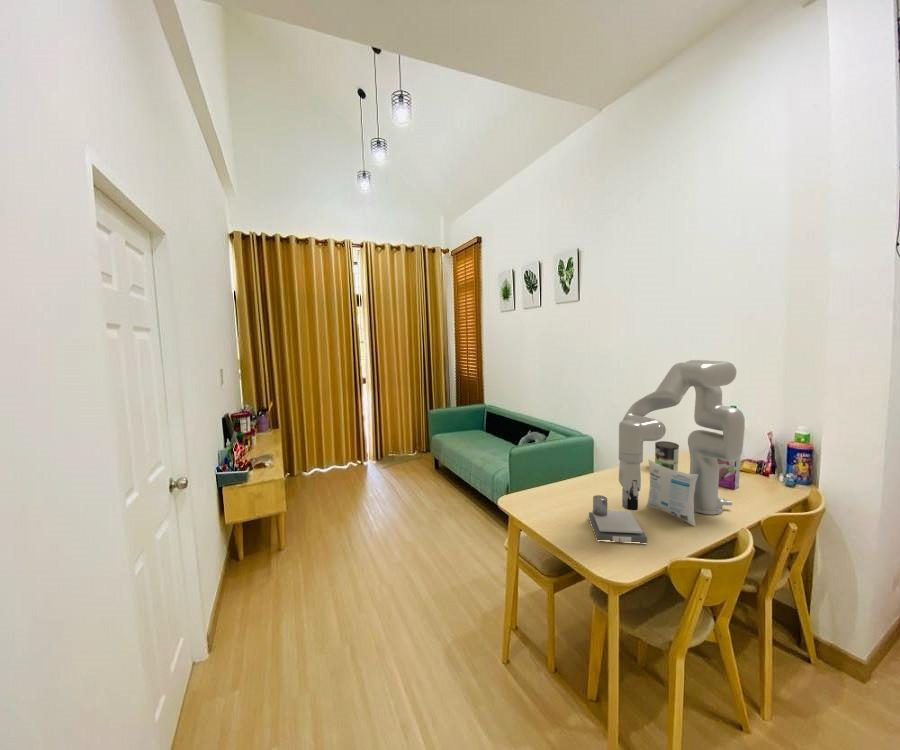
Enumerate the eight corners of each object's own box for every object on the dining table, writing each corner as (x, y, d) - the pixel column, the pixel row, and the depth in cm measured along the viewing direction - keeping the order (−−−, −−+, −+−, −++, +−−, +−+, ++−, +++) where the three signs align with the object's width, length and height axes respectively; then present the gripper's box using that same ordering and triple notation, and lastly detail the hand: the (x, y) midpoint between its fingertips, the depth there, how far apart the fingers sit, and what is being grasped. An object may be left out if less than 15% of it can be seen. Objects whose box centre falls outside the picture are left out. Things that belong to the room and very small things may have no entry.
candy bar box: (706, 482, 170) (707, 448, 168) (710, 479, 173) (711, 446, 171) (735, 490, 161) (736, 454, 159) (739, 487, 164) (741, 451, 162)
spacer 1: (605, 510, 141) (605, 495, 141) (608, 516, 136) (608, 501, 136) (592, 509, 142) (591, 495, 142) (594, 516, 137) (594, 501, 137)
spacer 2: (620, 503, 132) (620, 487, 132) (635, 504, 132) (635, 488, 131) (624, 510, 128) (624, 493, 127) (639, 510, 127) (640, 494, 126)
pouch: (687, 530, 133) (689, 477, 130) (641, 508, 150) (642, 460, 148) (702, 524, 136) (703, 472, 133) (654, 503, 153) (655, 457, 151)
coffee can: (663, 476, 179) (664, 448, 178) (650, 468, 189) (650, 442, 188) (683, 474, 180) (684, 446, 179) (668, 466, 190) (669, 440, 189)
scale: (632, 520, 141) (632, 510, 140) (647, 545, 125) (647, 534, 124) (588, 518, 144) (588, 508, 143) (597, 542, 128) (597, 531, 127)
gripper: (612, 448, 136) (612, 494, 139) (625, 464, 120) (625, 517, 122) (634, 448, 135) (634, 495, 137) (650, 465, 118) (649, 518, 121)
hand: (629, 505), depth 130 cm, fingers closed on spacer 2, 5 cm apart
